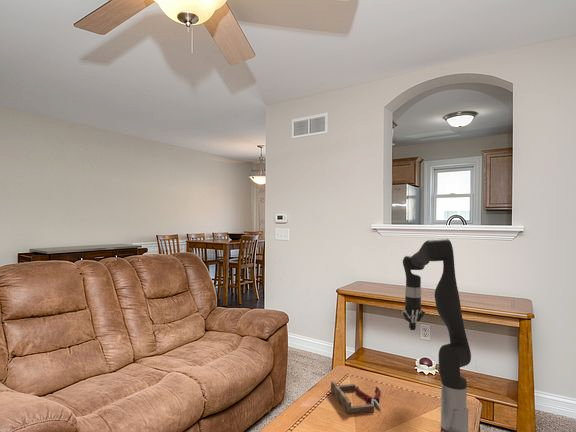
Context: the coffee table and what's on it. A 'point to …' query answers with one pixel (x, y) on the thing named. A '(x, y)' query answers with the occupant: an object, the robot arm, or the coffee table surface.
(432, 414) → the coffee table surface
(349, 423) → the coffee table surface
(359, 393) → the pliers
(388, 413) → the coffee table surface
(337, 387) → the tool rest
